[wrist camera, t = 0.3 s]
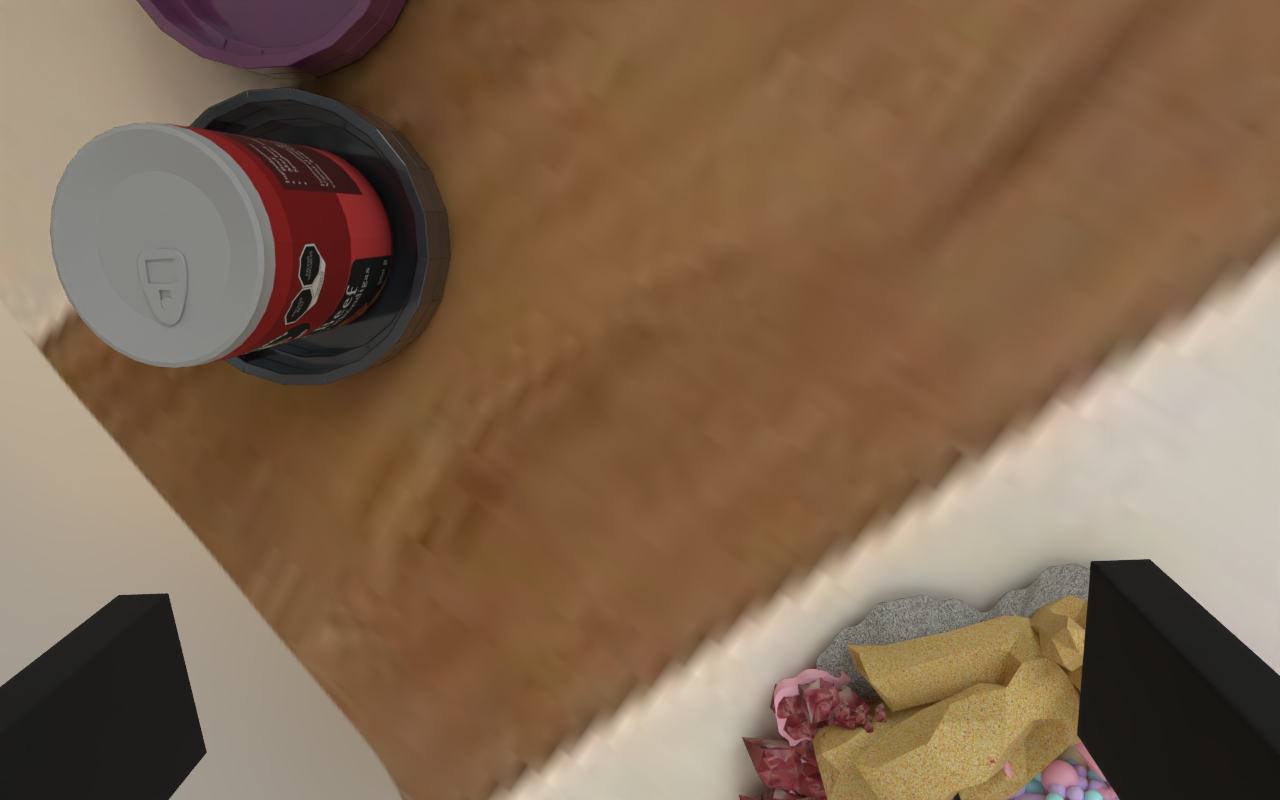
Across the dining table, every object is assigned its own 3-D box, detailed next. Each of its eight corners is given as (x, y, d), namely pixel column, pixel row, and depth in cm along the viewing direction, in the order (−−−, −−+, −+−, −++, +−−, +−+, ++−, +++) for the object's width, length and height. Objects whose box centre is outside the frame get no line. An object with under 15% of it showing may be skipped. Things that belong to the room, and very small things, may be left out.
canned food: (279, 349, 40) (107, 398, 29) (210, 182, 39) (5, 168, 28) (426, 298, 39) (303, 329, 28) (360, 122, 37) (205, 84, 27)
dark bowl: (177, 106, 39) (130, 97, 36) (439, 89, 37) (413, 78, 34) (215, 375, 41) (174, 387, 38) (463, 370, 40) (440, 382, 37)
